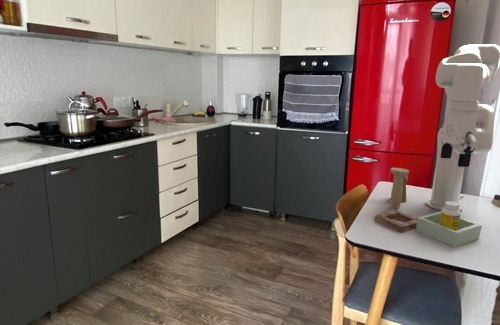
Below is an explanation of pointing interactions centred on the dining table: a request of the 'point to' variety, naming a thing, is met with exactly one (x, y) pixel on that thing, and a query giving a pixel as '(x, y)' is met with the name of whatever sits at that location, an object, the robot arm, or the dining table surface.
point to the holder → (387, 220)
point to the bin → (448, 230)
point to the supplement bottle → (450, 215)
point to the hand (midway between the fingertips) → (454, 162)
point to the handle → (397, 186)
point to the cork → (404, 189)
